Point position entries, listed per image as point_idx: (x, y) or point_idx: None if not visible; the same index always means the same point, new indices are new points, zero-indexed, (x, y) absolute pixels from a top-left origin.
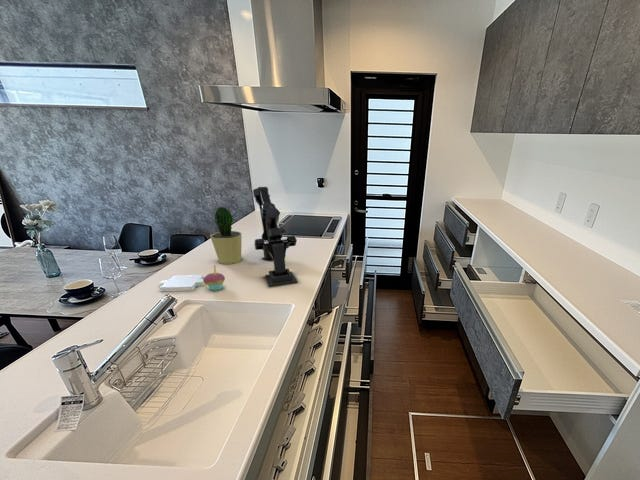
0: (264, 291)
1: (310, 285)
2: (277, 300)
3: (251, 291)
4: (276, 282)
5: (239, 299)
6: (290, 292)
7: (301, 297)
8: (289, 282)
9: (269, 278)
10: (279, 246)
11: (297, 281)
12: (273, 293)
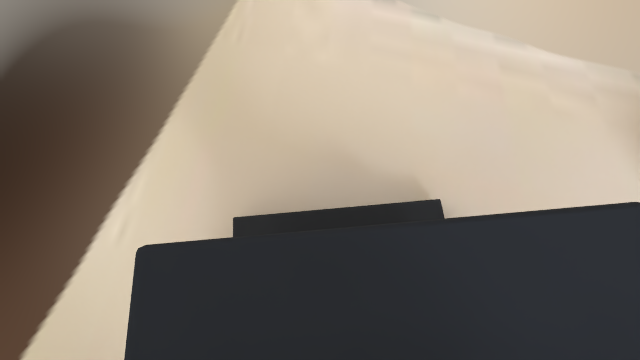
0: (461, 150)
1: (170, 158)
2: (384, 31)
3: (548, 172)
4: None
5: (596, 87)
6: (307, 98)
7: (261, 32)
8: (292, 212)
9: None
10: (340, 234)
11: (234, 218)
12: (405, 110)
